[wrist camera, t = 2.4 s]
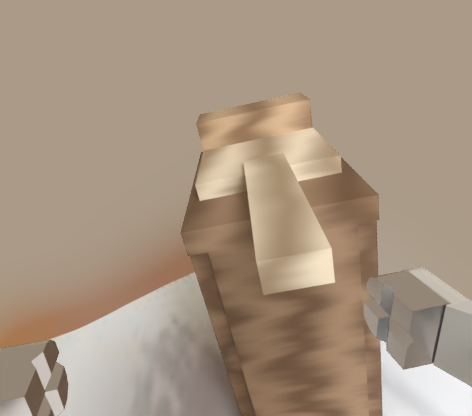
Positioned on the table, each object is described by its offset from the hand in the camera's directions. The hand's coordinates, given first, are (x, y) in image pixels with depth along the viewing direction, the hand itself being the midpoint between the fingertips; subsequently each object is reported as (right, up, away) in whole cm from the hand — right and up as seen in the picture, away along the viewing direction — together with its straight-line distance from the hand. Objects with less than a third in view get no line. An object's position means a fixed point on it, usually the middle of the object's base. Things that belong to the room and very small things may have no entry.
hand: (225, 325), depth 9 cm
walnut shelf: (+8, -16, +35) cm, 39 cm away
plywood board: (+3, +5, +20) cm, 21 cm away
